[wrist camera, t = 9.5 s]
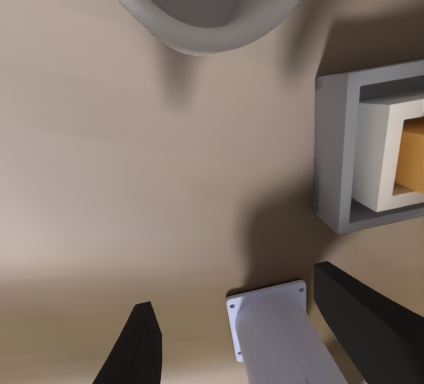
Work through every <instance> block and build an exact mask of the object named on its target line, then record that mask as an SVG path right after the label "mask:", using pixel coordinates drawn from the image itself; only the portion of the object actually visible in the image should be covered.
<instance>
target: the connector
mask: <svg viewBox="0 0 424 384" xmlns="http://www.w3.org/2000/svg"><path fill="white" fill-rule="evenodd" d="M394 182H395V183H398V184H400V185H403V186H405V187H407V188H410V189H412V190H415V191H417V192H420V193H422V194H424V118H411V119H406V120H404V122H403V129H402V135H401V141H400V148H399V154H398V161H397V167H396V174H395V180H394Z"/></svg>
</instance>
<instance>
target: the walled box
mask: <svg viewBox="0 0 424 384" xmlns="http://www.w3.org/2000/svg"><path fill="white" fill-rule="evenodd" d="M411 118H424V58H423V59H418V60H412V61H406V62H400V63H394V64H389V65H383V66H377V67H371V68H365V69H359V70H354V71H348V72H342V73H336V74H330V75H324V76H319V77H316V93H315V165H314V214H315V215H316V216H317V217H318V218H319V219H321V220H322V221H323V222H324V223H325V224H326V225H327V226H329V227H330V228H331V229H332V230H333V231H334V232H335V233H337V234H338V235H340V234H345V233H349V232H354V231H359V230H363V229H368V228H372V227H377V226H381V225H386V224H390V223H395V222H400V221H404V220H409V219H413V218H418V217H422V216H424V194H422V193H420V192H417V191H415V190H412V189H410V188H407V187H405V186H403V185H400V184H398V183H395V182H394V180H395V174H396V167H397V161H398V154H399V148H400V141H401V135H402V129H403V122H404V120H406V119H411Z"/></svg>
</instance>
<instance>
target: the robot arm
mask: <svg viewBox="0 0 424 384" xmlns="http://www.w3.org/2000/svg"><path fill="white" fill-rule="evenodd" d="M314 300H315V302H316V304H317V306H318V308H319V310H320V312H321V314H322V316H323V317H324V319H325V321H326V323H327V324H328V326H329V327H330V329H331V330H332V332H333V333H334V335H335V336H336V338H337V339H338V341H339V342H340V343H341V345H342V346H343V348H344V349H345V351H346V352H347V354H348V355H349V357H350V358H351V360H352V361H353V362H354V364H355V365H356V367H357V368H358V370H359V371H360V373H361V374H362V376H363V377H364V379H365V380H366V382H367V383H368V384H424V317H422V316H420V315H418V314H416V313H414V312H412V311H410V310H409V309H407V308H405V307H403V306H401V305H399V304H398V303H396V302H394V301H392V300H390V299H389V298H387V297H385V296H383V295H382V294H380V293H378V292H377V291H375V290H373V289H372V288H370V287H368V286H367V285H365V284H363V283H362V282H360V281H358V280H357V279H355V278H354V277H352V276H350V275H349V274H347V273H346V272H344V271H342V270H341V269H339V268H338V267H336V266H334V265H333V264H331V263H330V262H328V261H326V262H321V263H317V264H314ZM226 304H227V310H228V316H229V321H230V327H231V332H232V338H233V343H234V349H235V355H236V359H237V361H238V362H242V361H243V362H244V366H245V370H246V374H247V378H248V382H249V384H348V383H347V381H346V379H345V378H344V376H343V374H342V373H341V371H340V369H339V368H338V366H337V364H336V363H335V361H334V359H333V357H332V356H331V354H330V352H329V351H328V349H327V347H326V346H325V344H324V342H323V341H322V339H321V337H320V336H319V334H318V332H317V330H316V329H315V327H314V325H313V324H312V322H311V320H310V319H309V317H308V315H307V314H306V283H305V282H304V281H303V280H298V281H293V282H289V283H284V284H280V285H276V286H271V287H267V288H263V289H258V290H254V291H250V292H245V293H241V294H237V295H232V296H229V297H227V299H226ZM232 304H233V305H232ZM161 370H162V333H161V331H160V328H159V325H158V322H157V319H156V316H155V313H154V310H153V308H152V305H151V302H150V301H149V302H145V303H140V304H136V305H135V306H134V308H133V310H132V312H131V314H130V316H129V318H128V320H127V322H126V324H125V326H124V328H123V330H122V332H121V334H120V336H119V338H118V340H117V341H116V343H115V345H114V347H113V349H112V351H111V352H110V354H109V356H108V358H107V360H106V361H105V363H104V365H103V367H102V368H101V370H100V372H99V373H98V375H97V377H96V378H95V380H94V382H93V383H92V384H160V381H161Z"/></svg>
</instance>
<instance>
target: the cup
mask: <svg viewBox="0 0 424 384" xmlns="http://www.w3.org/2000/svg"><path fill="white" fill-rule="evenodd" d="M299 1H300V0H119V2H120V3H121V4H122V5H123V6H124V8H125V9H126V10H127V11H128V12H129V13H130V14H131V15H132V16H133V17H134V18H135V19H136V20H137V21H138V22H140V23H141V24H142V25H143V26H144V27H145V28H146V29H147V30H148V31H149V32H150V33H152V34H153V35H154V36H155V37H156V38H157V39H158V40H159V41H161V42H162V43H163V44H165V45H166V46H168V47H169V48H171V49H173V50H175V51H178V52H180V53H183V54H188V55H196V56H201V55H209V54H214V53H218V52H223V51H227V50H232V49H236V48H239V47H242V46H245V45H247V44H250V43H252V42H254V41H256V40H258V39H259V38H261V37H263V36H264V35H266V34H267V33H269V32H270V31H271V30H273V29H274V28H275V27H276V26H278V25H279V24H280V23H281V22H282V21H283V20H284V19H285V18H286V17H287V16H288V15H289V14H290V12H291V11H292V10H293V9H294V8H295V6H296V5H297V4H298V2H299Z"/></svg>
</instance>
